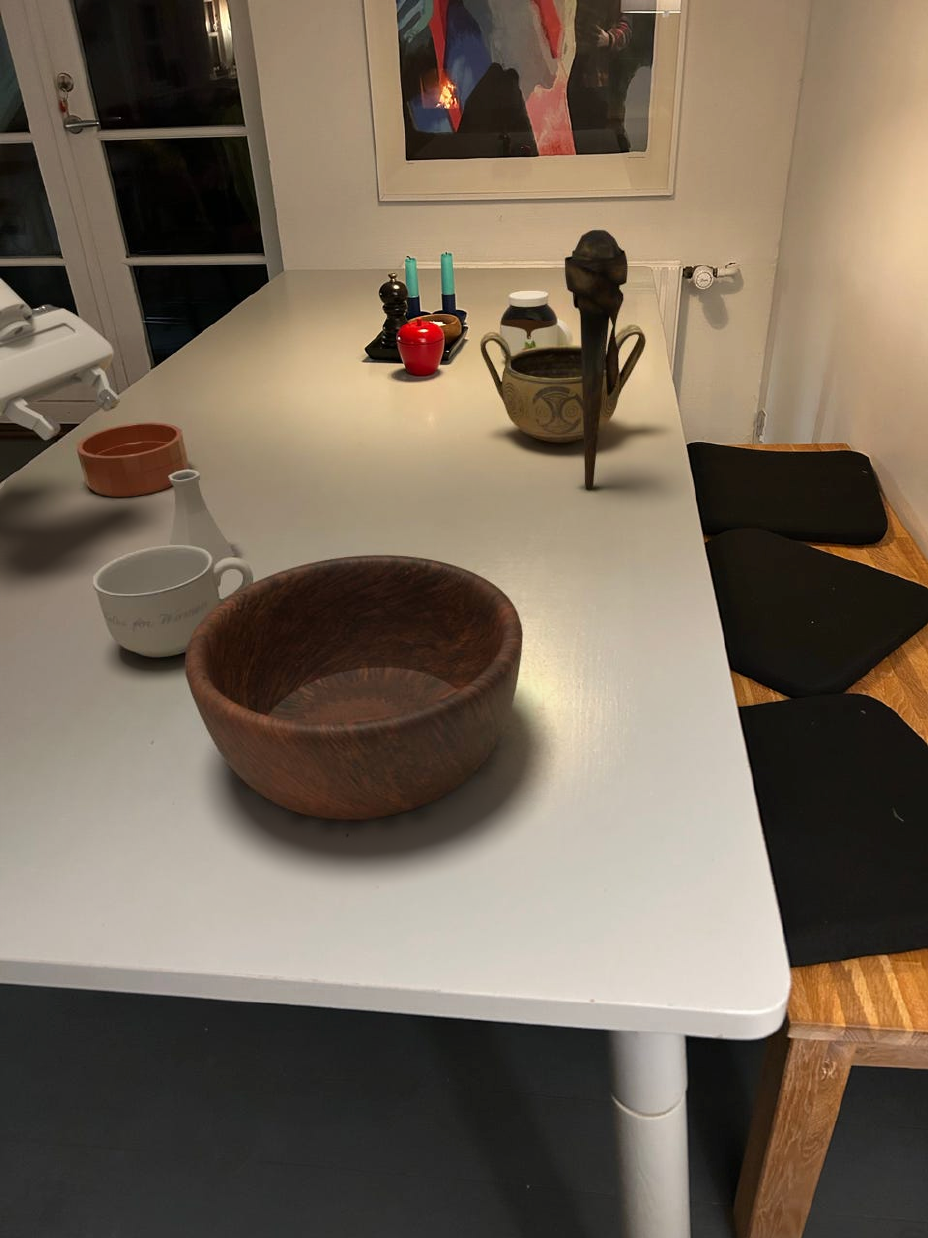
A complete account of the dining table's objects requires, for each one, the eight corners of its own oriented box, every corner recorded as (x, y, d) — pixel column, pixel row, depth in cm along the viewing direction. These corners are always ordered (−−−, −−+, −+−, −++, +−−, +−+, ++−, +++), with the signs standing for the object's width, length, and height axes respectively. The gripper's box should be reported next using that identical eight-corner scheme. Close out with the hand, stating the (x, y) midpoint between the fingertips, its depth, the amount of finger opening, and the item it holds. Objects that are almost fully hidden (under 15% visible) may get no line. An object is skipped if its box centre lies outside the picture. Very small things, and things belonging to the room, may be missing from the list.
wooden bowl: (521, 650, 84) (520, 549, 78) (527, 850, 62) (526, 730, 57) (251, 654, 85) (232, 555, 80) (166, 852, 63) (132, 734, 58)
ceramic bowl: (632, 415, 138) (638, 312, 130) (646, 456, 123) (653, 343, 115) (484, 418, 139) (481, 317, 131) (481, 460, 125) (477, 348, 117)
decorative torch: (577, 502, 111) (585, 237, 96) (552, 483, 117) (555, 229, 101) (626, 492, 113) (642, 231, 98) (599, 474, 119) (609, 224, 103)
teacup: (97, 674, 83) (74, 597, 79) (130, 613, 92) (111, 542, 88) (250, 666, 83) (235, 589, 79) (268, 606, 92) (256, 534, 88)
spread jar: (496, 366, 164) (494, 298, 158) (513, 349, 173) (512, 285, 167) (562, 369, 160) (562, 300, 154) (575, 352, 169) (577, 286, 163)
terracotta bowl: (72, 499, 119) (60, 459, 116) (107, 461, 130) (98, 424, 127) (174, 495, 118) (165, 455, 116) (200, 458, 130) (193, 420, 127)
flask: (247, 557, 102) (231, 473, 97) (189, 580, 98) (170, 493, 93) (213, 538, 107) (196, 457, 102) (156, 559, 103) (136, 476, 97)
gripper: (46, 321, 107) (134, 408, 109) (-101, 369, 90) (5, 471, 92) (66, 281, 103) (157, 373, 105) (-84, 325, 87) (26, 432, 89)
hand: (85, 419), depth 98 cm, fingers open, 8 cm apart
